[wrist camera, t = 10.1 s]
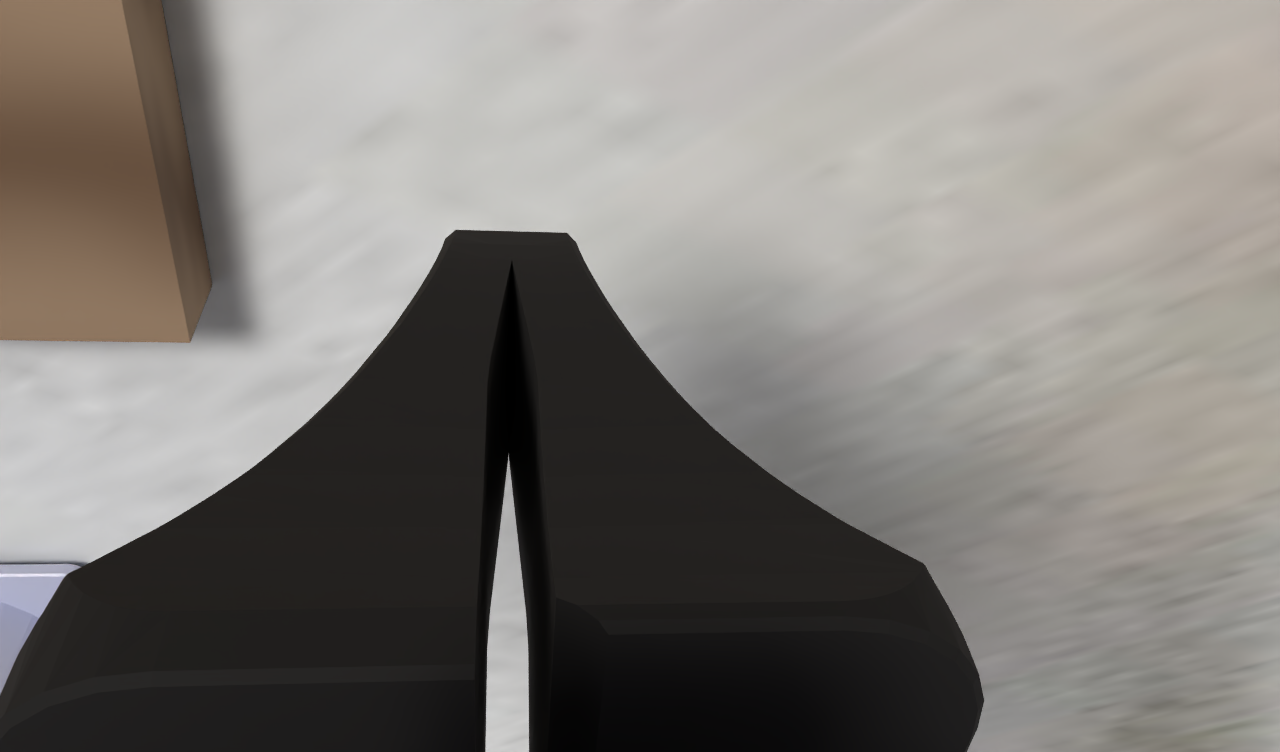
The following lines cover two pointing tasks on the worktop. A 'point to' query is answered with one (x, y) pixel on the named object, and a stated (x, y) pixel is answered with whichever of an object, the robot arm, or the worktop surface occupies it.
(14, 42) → the board
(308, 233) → the worktop surface
